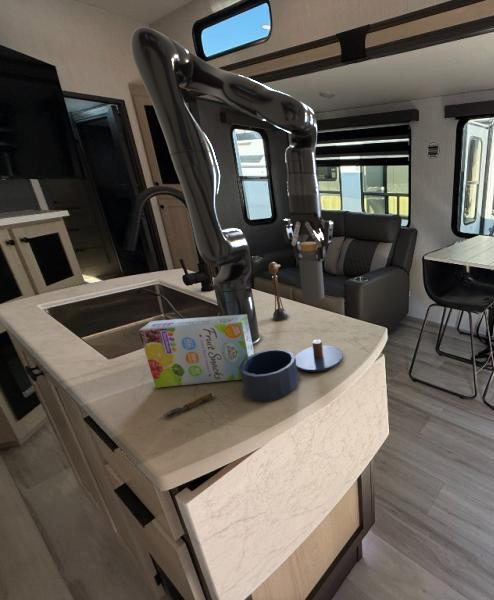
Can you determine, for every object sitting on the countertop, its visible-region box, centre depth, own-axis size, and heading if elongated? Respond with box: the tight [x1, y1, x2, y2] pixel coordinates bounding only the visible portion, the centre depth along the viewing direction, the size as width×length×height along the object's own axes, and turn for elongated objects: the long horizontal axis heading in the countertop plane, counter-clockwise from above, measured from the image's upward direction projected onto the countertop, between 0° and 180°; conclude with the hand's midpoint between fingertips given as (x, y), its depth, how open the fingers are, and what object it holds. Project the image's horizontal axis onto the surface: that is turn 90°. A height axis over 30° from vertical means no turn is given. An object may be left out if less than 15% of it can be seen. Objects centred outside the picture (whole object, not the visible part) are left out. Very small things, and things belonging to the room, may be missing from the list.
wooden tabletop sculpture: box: [268, 261, 289, 322], centre depth 109 cm, size 6×5×20 cm
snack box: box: [138, 314, 255, 389], centre depth 75 cm, size 21×6×15 cm, turn 100°
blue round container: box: [240, 348, 299, 403], centre depth 73 cm, size 12×12×6 cm
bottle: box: [298, 241, 325, 301], centre depth 85 cm, size 6×6×15 cm
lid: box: [294, 339, 344, 373], centre depth 84 cm, size 13×13×6 cm
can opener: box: [163, 393, 214, 418], centre depth 66 cm, size 9×2×1 cm, turn 131°
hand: (310, 259), depth 84 cm, fingers closed on bottle, 5 cm apart
